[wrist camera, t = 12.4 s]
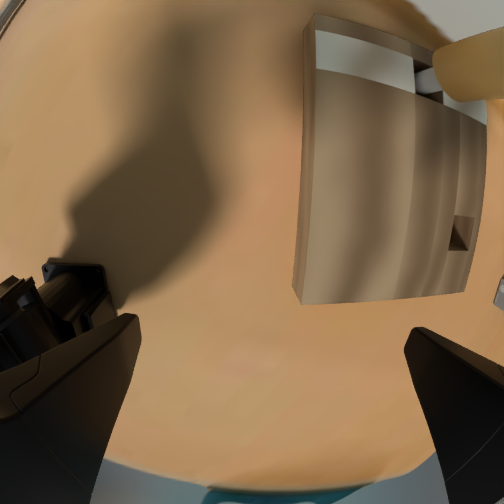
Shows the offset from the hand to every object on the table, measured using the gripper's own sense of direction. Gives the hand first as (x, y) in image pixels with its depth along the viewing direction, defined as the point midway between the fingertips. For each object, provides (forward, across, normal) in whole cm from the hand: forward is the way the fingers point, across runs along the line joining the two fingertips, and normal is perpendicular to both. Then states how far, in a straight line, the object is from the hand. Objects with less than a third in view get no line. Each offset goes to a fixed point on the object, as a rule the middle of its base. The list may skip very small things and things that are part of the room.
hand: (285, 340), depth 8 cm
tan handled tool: (+14, -11, -13) cm, 22 cm away
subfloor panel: (+13, -10, -6) cm, 18 cm away
